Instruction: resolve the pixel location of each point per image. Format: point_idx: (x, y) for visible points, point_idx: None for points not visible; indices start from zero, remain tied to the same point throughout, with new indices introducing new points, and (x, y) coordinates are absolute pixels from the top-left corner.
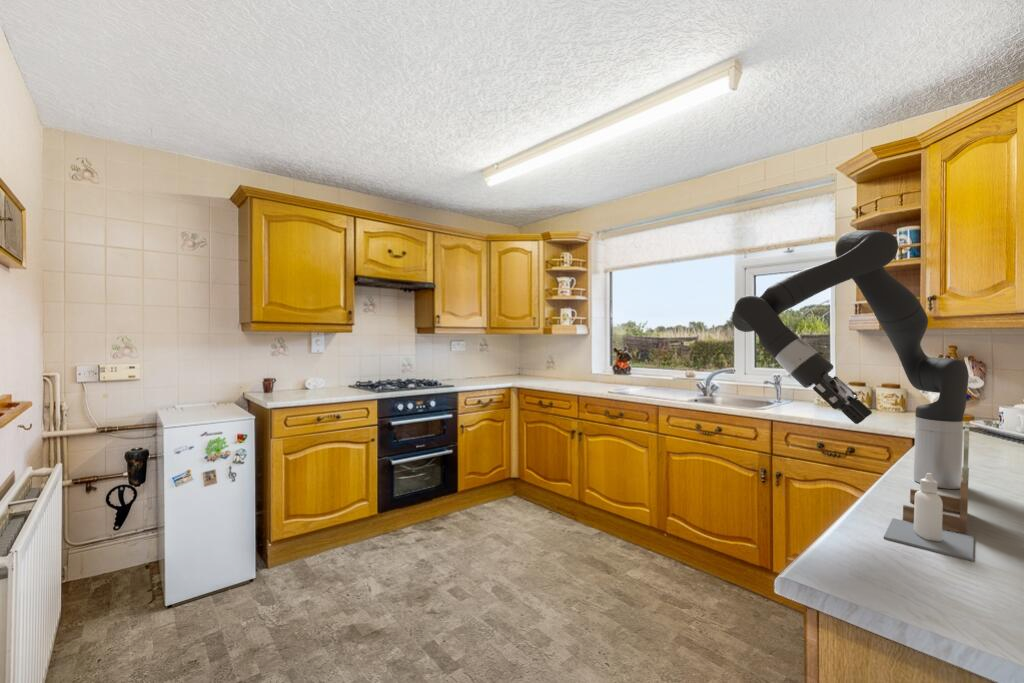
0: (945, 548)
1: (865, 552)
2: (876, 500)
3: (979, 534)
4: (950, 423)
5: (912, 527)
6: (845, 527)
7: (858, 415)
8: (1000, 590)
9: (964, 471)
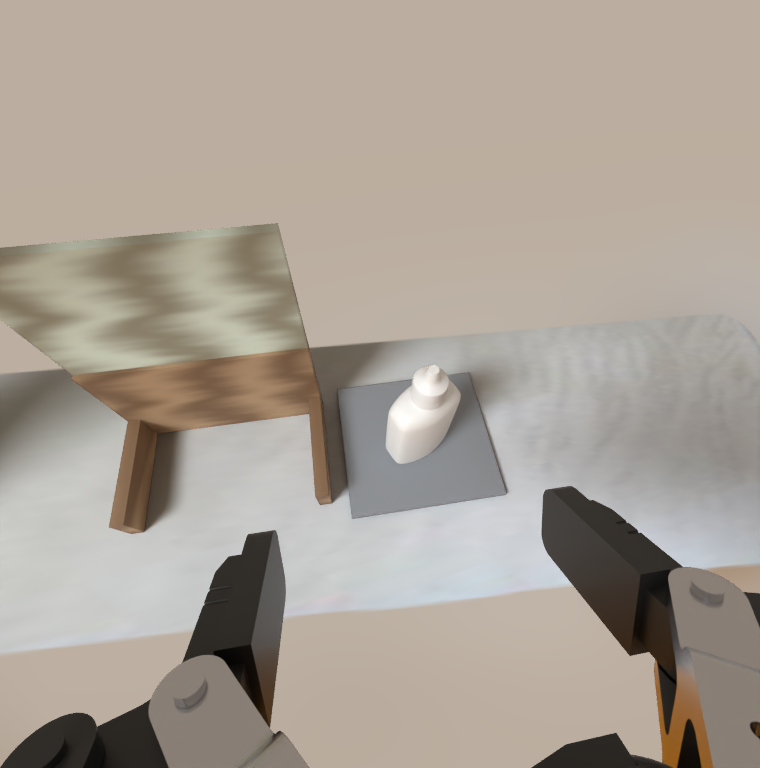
0: (459, 406)
1: (619, 495)
2: (190, 603)
3: None
4: None
5: (385, 471)
6: (517, 576)
7: (611, 511)
8: (550, 339)
9: (302, 326)
